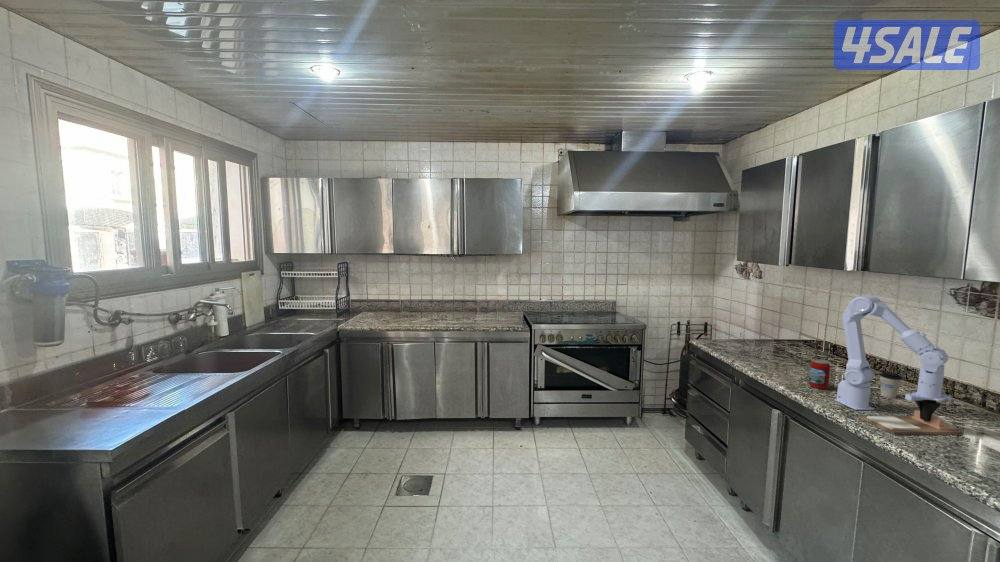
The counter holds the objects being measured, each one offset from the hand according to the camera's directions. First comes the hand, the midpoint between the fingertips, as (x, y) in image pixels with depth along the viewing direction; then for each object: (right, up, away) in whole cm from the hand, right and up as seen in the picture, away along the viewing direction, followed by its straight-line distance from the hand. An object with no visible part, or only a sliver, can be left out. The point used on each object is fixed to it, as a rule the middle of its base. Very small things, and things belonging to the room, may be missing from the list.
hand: (924, 420), depth 138 cm
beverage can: (-8, +1, +37) cm, 38 cm away
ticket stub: (+3, -1, 0) cm, 4 cm away
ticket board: (-6, -2, 0) cm, 6 cm away
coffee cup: (+14, 0, +28) cm, 31 cm away
